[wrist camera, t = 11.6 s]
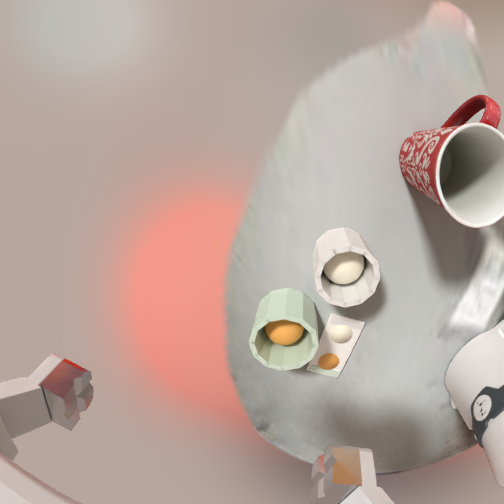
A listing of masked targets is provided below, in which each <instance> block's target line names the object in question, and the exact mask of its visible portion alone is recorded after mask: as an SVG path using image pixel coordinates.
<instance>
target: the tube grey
mask: <svg viewBox="0 0 504 504" xmlns="http://www.w3.org/2000/svg"><path fill="white" fill-rule="evenodd" d="M363 255H364V256H363ZM312 257H313V269H314V278H315V282H316V287H317V291H318V293H319V294H320V295H321V296H322V297H323V298H324V299H325V300H326V301H327V302H328V303H329V304H333V305H337V306H341V307H344V308H345V307H349V306H354V305H358V304H361V303H363V302H364V301H365V300H366V299H368V298H369V297H370V296H371V295H372V294H374V292H375V290H376V287H377V285H378V282H379V280H380V273H379V266H378V261H377V260H376V258H375V256H374V255H373V253H372V251H371V250H370V248H369V246H368V244H367V243H366V241H365V240H364V239H363V238H362V237H361V236H360V235H359V234H358V232H357V231H354V230H350V229H347V228H344V227H341V228H337V229H332V230H328V231H327V232H326V233H325V234H323V235H322V236H321V237H320V238H319V239H318V240H317V241H316V244H315V247H314V250H313V254H312Z"/></svg>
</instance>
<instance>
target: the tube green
mask: <svg viewBox="0 0 504 504" xmlns="http://www.w3.org/2000/svg"><path fill="white" fill-rule="evenodd" d="M284 319H285V320H289V321H293V322H296V323H300V324H301V325H302V326H303V327H304V328H305V329H304V331H303V334H302V336H301V337H300V338H299V339H298V340H297V341H296V342H294V343H292V344H289V345H280V344H277V343H275V342H273V341H272V340H271V339H270V338H269V337H268V335H267V334H266V331H265V325H266V324H267V323H269V322H273V321H278V320H284ZM249 344H250V347H251V350H252V353H253V356H254V357H255V358H256V359H258V360H259V361H260V362H261V363H262V364H264V365H265V366H266V367H270V368H274V369H278V370H282V371H285V370H291V369H297V368H300V367H302V366H303V365H305V364H306V363H308V362H309V361H311V360H312V359H313V357H314V355H315V353H316V351H317V348H318V346H319V340H318V323H317V313H316V309H315V305H314V302H313V301H312V300H311V299H310V298H309V297H308V296H307V295H306V294H305V293H304V292H302V291H298V290H294V289H291V288H283V289H278V290H273V291H271V292H270V293H269V294H267V295H266V296H265V297H264V298H263V299H261V300H260V303H259V307H258V310H257V313H256V317H255V321H254V325H253V328H252V332H251V336H250V340H249Z"/></svg>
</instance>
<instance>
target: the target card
mask: <svg viewBox="0 0 504 504" xmlns="http://www.w3.org/2000/svg"><path fill="white" fill-rule="evenodd" d="M364 325H365V322H364V321H360V320H356V319H352V318H348V317H345V316H341V315H337V314H333V313H330V316H329V318H328V321H327V323H326V325H325V328H324V330H323V333H322V335H321V337H320V340H319V346H318V348H317V351H316V353H315V355H314V357H313V359H312V360H311V361H310V362H309V364H308V366H307V370H308V371H312V372H317V373H321V374H325V375H330V376H335V377H338V376H339V374H340V373H341V371H342V369H343V367H344V365H345V363H346V361H347V359H348V357H349V355H350V353H351V351H352V349H353V347H354V345H355V343H356V341H357V339H358V337H359V335H360V333H361V331H362V329H363V327H364Z"/></svg>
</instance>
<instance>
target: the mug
mask: <svg viewBox="0 0 504 504" xmlns="http://www.w3.org/2000/svg"><path fill="white" fill-rule="evenodd" d="M483 108H485V112H484V114H483V117H482V119H481V120H480V122H471V123H466V122H467V121H468V120H469V119H470V118H471V117H472V116H474V115H475V114H476V113H477V112H479V111H480V110H482V109H483ZM499 121H500V108H499V106H498V104H497V103H496V102H495V101H494V100H492V99H491V98H489V97H488V96H485V95H477V96H474V97H472V98H470V99H469V100H467V101H466V102H465V103H463V104H462V105H461V106H460V107H459V108H458V109H457V110H456V111H455V112H454V113H453V114H452V115H451V116H450V117H449V119H448V120H447V121H446V122H445V123H444V124H443V126H442V127H441V128H440V129H433V130H424V131H419V132H416V133H414V134H412V135H411V136H409V137H408V138H407V139H406V140H405V142H404V143H403V145H402V147H401V150H400V156H399V162H400V168H401V171H402V174H403V176H404V177H405V179H406V180H407V181H408V182H409V183H410V184H411V185H412V186H413V187H414V188H416V189H417V190H419V191H420V192H422V193H423V194H425V195H426V196H427V197H429V198H430V199H432V200H433V201H434V202H435V203H437V204H438V205H440V206H441V207H442V208H444V209H445V210H446V211H447V212H448V214H449V215H450V216H451V217H452V218H453V219H454V220H456V221H457V222H459V223H460V224H462V225H465V226H467V227H471V228H483V227H488V226H490V225H492V224H494V223H496V222H497V221H499V220H500V219H501V218H502V217H503V216H504V135H503V134H502V133H501V132H500V131H498V130H497V127H498V124H499ZM465 123H466V124H465Z"/></svg>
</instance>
